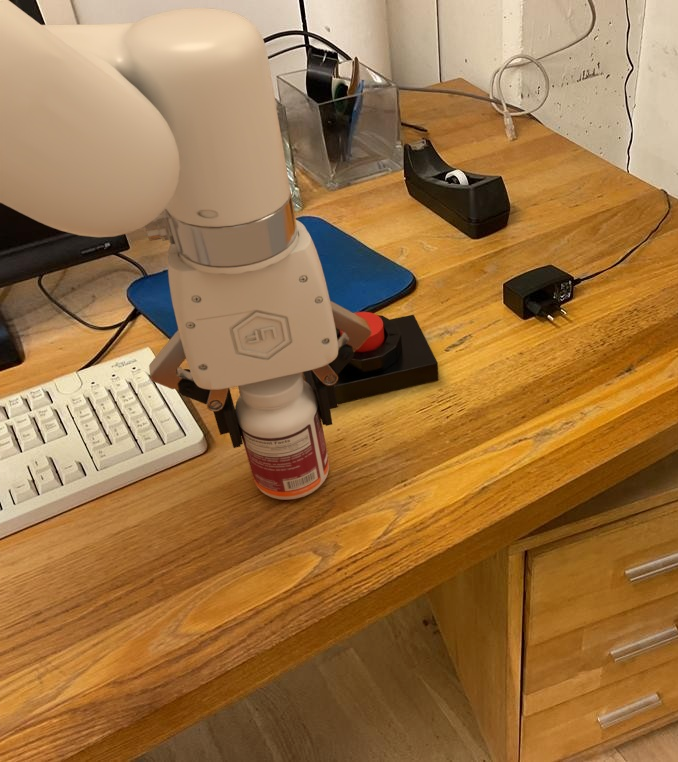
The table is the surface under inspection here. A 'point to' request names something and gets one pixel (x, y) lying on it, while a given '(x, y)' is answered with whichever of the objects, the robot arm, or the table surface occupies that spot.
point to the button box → (387, 363)
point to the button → (376, 331)
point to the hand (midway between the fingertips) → (280, 422)
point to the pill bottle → (283, 436)
